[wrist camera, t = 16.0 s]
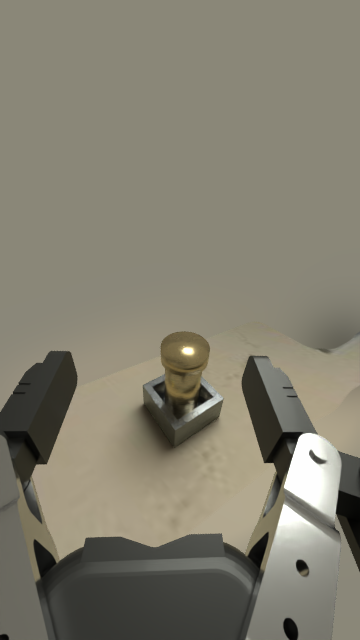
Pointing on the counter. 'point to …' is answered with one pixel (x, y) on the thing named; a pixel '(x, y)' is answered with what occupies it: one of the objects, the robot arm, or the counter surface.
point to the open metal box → (190, 422)
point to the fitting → (183, 370)
